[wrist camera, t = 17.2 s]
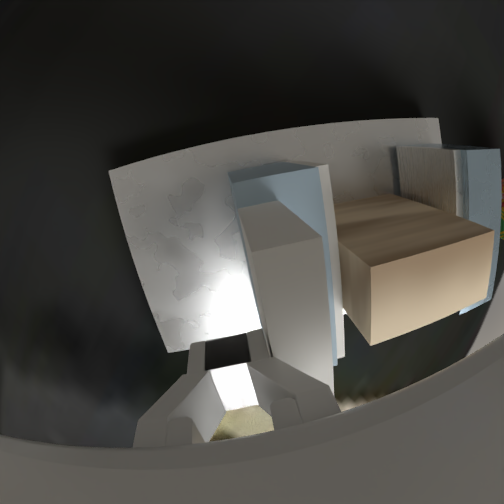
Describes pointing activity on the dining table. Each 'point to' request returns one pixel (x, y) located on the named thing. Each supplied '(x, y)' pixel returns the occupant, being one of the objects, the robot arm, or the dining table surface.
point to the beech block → (408, 264)
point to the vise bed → (225, 219)
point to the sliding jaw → (293, 262)
